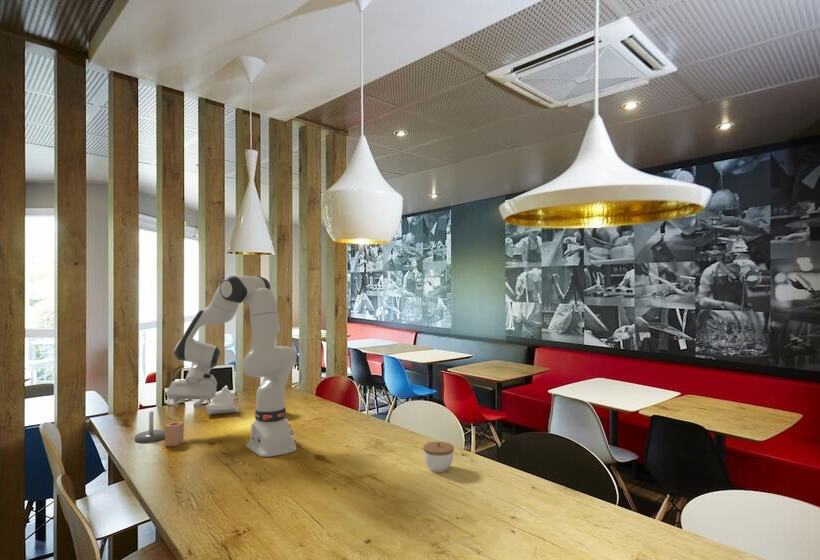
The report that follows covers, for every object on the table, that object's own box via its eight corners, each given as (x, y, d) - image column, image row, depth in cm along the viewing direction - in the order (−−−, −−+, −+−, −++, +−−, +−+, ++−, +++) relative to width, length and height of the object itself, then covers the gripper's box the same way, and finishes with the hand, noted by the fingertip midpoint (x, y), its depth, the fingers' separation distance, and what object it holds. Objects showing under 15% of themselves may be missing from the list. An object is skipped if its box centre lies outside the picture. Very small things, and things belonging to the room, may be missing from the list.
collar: (183, 441, 187) (183, 422, 187) (177, 445, 182) (177, 426, 182) (171, 441, 187) (171, 422, 187) (164, 445, 182) (165, 426, 182)
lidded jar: (428, 476, 154) (428, 448, 154) (419, 464, 164) (419, 438, 164) (458, 473, 157) (458, 445, 157) (447, 461, 167) (447, 435, 167)
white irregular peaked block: (207, 414, 232) (210, 385, 236) (238, 414, 237) (241, 386, 241) (204, 414, 221) (208, 384, 225) (237, 414, 225) (240, 385, 229)
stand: (167, 439, 190) (168, 413, 190) (134, 444, 184) (134, 417, 184) (166, 431, 200) (166, 406, 200) (134, 436, 194) (135, 410, 194)
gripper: (170, 375, 202) (158, 403, 192) (216, 375, 202) (207, 403, 192) (175, 383, 206) (164, 410, 197) (220, 383, 207) (211, 410, 197)
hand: (185, 407), depth 194 cm, fingers open, 8 cm apart
